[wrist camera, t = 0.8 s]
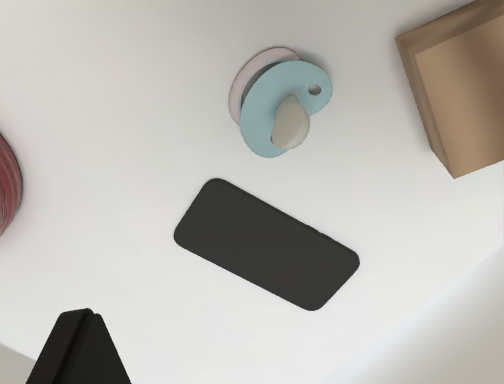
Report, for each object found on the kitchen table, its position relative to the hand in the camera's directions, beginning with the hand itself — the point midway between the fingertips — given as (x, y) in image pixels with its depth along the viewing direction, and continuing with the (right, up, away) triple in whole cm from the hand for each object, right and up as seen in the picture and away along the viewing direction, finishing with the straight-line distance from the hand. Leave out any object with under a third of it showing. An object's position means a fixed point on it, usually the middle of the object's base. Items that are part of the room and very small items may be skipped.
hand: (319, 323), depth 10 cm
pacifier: (0, +10, +24) cm, 26 cm away
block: (+14, +11, +23) cm, 29 cm away
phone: (0, -2, +30) cm, 31 cm away
